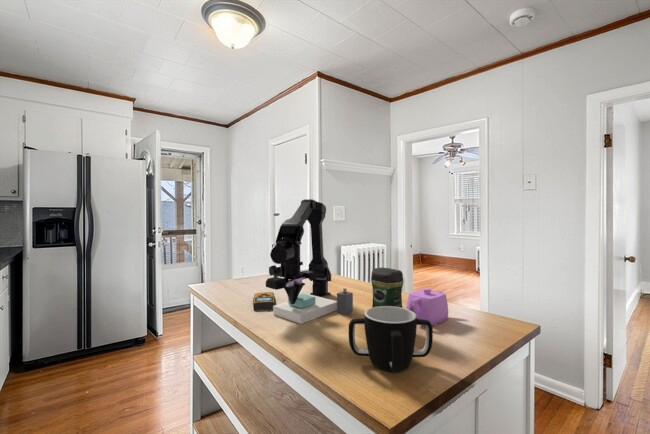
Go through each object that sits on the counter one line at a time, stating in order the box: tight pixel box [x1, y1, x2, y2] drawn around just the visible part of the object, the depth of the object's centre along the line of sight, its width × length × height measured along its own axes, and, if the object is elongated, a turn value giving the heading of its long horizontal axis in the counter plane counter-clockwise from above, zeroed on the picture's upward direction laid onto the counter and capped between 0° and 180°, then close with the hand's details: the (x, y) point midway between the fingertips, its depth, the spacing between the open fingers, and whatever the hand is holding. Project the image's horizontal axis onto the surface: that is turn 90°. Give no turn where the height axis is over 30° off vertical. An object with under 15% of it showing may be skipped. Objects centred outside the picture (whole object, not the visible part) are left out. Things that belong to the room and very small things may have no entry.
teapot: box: [405, 287, 449, 327], centre depth 105 cm, size 18×10×10 cm, turn 129°
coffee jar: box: [370, 267, 404, 308], centre depth 97 cm, size 10×8×19 cm
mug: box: [348, 306, 434, 373], centre depth 74 cm, size 16×16×12 cm
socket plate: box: [272, 294, 337, 325], centre depth 113 cm, size 19×14×3 cm
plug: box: [336, 287, 354, 316], centre depth 112 cm, size 4×4×9 cm
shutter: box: [287, 293, 316, 308], centre depth 111 cm, size 7×7×3 cm
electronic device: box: [252, 291, 276, 311], centre depth 123 cm, size 8×16×3 cm, turn 11°
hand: (292, 304), depth 108 cm, fingers closed
